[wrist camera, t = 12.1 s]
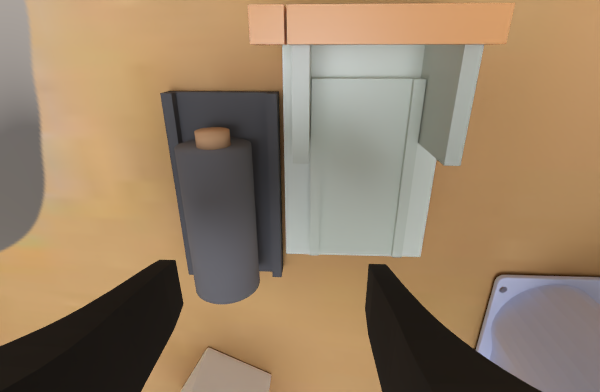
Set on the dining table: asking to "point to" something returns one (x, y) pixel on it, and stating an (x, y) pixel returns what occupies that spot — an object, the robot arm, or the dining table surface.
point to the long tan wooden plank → (380, 24)
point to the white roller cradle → (370, 141)
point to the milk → (225, 375)
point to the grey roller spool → (219, 214)
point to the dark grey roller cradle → (265, 154)
